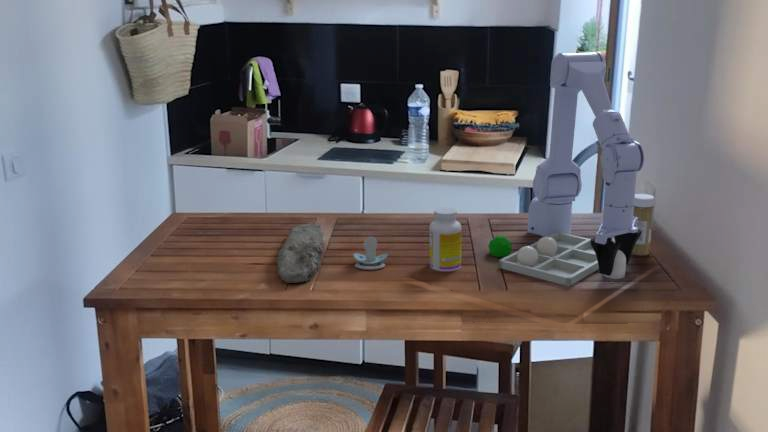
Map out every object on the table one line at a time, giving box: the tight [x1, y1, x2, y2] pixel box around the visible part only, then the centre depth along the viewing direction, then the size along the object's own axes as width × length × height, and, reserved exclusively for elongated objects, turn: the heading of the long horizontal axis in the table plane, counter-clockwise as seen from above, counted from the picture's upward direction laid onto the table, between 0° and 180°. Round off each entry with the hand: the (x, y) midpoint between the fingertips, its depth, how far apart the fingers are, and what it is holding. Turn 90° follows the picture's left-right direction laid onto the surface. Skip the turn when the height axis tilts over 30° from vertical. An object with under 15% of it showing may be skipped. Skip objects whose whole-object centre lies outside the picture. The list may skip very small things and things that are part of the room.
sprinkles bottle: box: [631, 193, 655, 256], centre depth 169 cm, size 5×5×14 cm
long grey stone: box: [276, 222, 324, 284], centre depth 174 cm, size 35×5×10 cm
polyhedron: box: [488, 235, 513, 258], centre depth 171 cm, size 5×5×5 cm
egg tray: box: [498, 232, 599, 288], centre depth 167 cm, size 16×24×2 cm
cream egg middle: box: [537, 236, 557, 257], centre depth 169 cm, size 4×4×4 cm
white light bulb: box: [601, 250, 627, 280], centre depth 158 cm, size 4×4×6 cm
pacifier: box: [353, 236, 389, 271], centre depth 167 cm, size 7×6×6 cm
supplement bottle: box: [429, 207, 462, 272], centre depth 163 cm, size 7×7×13 cm
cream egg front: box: [517, 245, 538, 267], centre depth 163 cm, size 4×4×4 cm
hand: (614, 268), depth 158 cm, fingers open, 7 cm apart
